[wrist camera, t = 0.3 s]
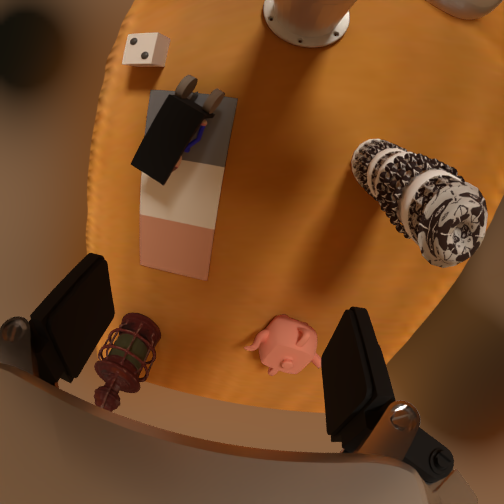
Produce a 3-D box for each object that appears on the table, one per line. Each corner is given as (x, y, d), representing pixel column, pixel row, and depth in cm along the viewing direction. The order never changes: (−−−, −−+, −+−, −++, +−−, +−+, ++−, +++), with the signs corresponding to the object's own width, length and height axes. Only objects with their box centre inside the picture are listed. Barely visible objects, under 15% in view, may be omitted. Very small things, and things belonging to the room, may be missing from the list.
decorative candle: (404, 140, 36) (510, 189, 15) (397, 194, 41) (481, 281, 19) (351, 132, 37) (435, 170, 16) (346, 189, 42) (407, 280, 20)
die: (142, 39, 32) (127, 34, 27) (170, 38, 32) (157, 32, 27) (137, 66, 34) (121, 64, 30) (164, 67, 34) (150, 63, 30)
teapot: (318, 303, 53) (323, 341, 45) (322, 342, 59) (326, 378, 50) (248, 312, 56) (243, 350, 47) (260, 349, 62) (257, 385, 53)
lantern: (157, 351, 66) (118, 451, 40) (116, 330, 64) (66, 423, 38) (170, 325, 61) (124, 440, 35) (124, 301, 58) (61, 407, 33)
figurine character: (194, 78, 36) (146, 159, 41) (181, 68, 29) (126, 165, 34) (230, 98, 37) (180, 179, 43) (224, 91, 30) (165, 188, 36)
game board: (151, 89, 36) (150, 89, 36) (237, 98, 36) (237, 98, 36) (140, 263, 53) (140, 264, 52) (207, 280, 53) (207, 281, 53)
